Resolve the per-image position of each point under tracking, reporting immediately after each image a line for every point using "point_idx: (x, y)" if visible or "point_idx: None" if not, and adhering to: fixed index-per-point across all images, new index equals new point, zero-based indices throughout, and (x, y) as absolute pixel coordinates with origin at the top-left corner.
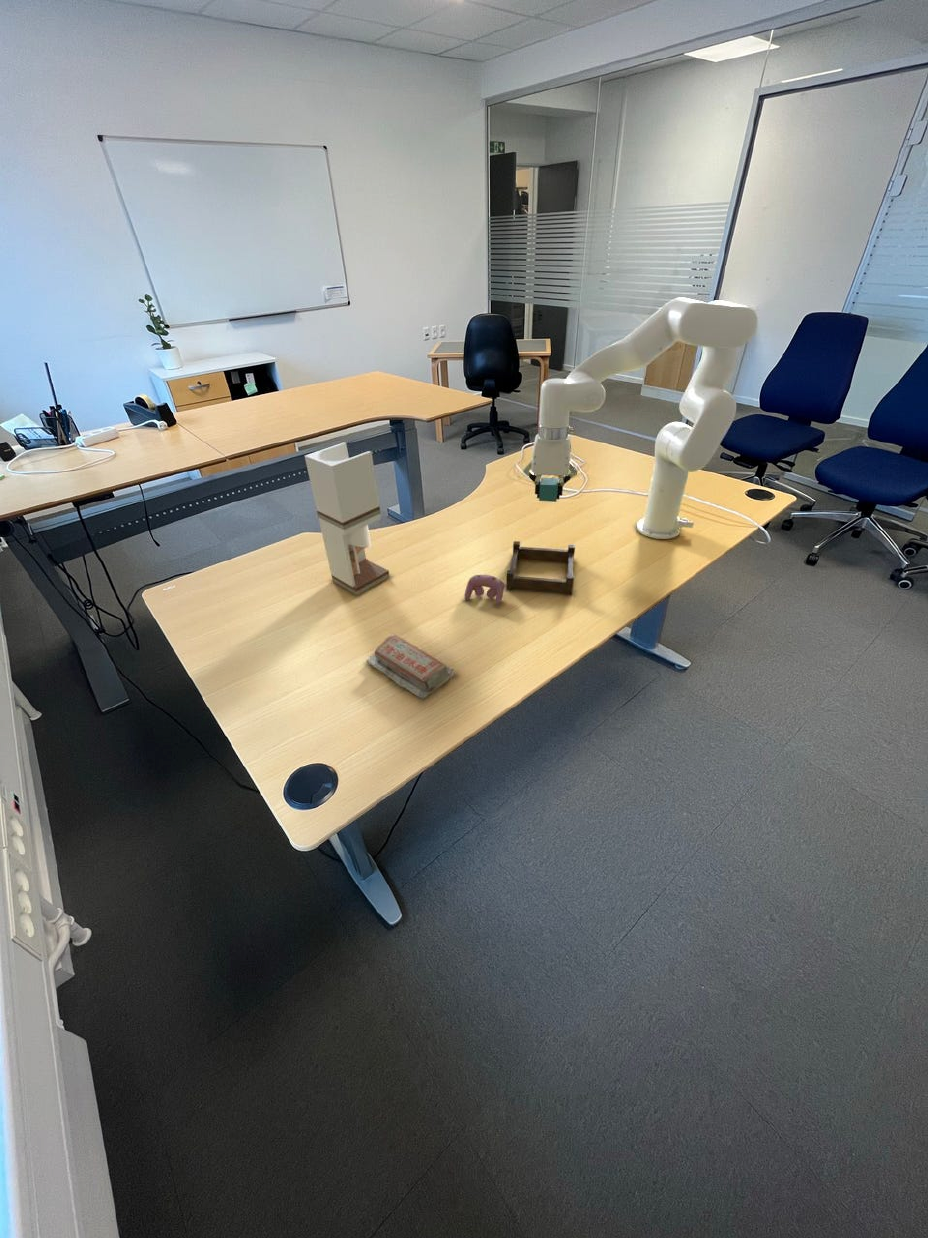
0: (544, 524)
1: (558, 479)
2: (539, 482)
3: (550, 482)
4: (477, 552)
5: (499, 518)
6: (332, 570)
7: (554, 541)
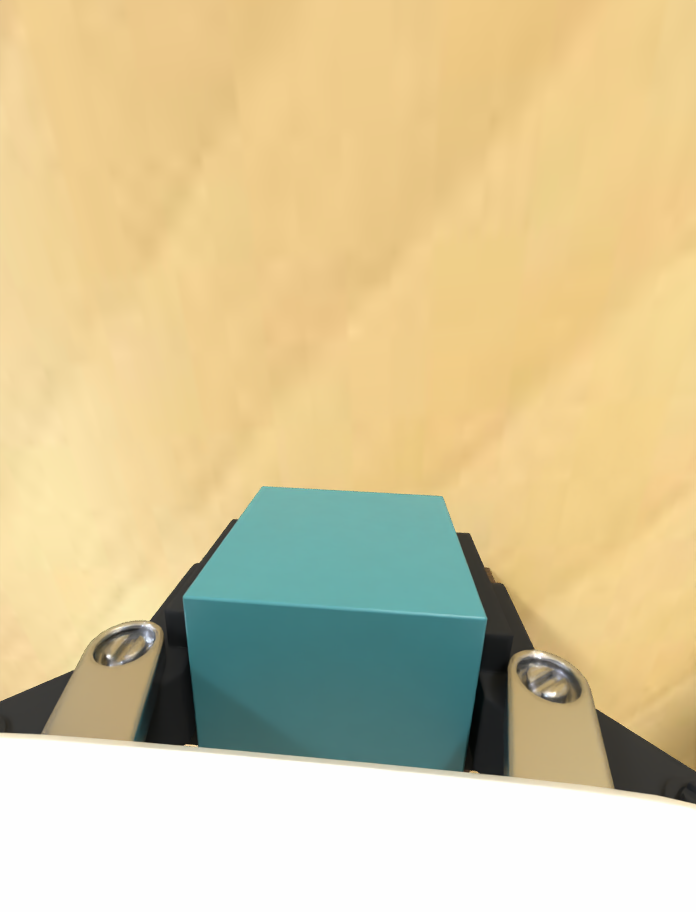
0: (359, 213)
1: (481, 655)
2: (185, 742)
3: (346, 754)
4: (87, 529)
5: (86, 159)
6: None
7: (413, 411)
